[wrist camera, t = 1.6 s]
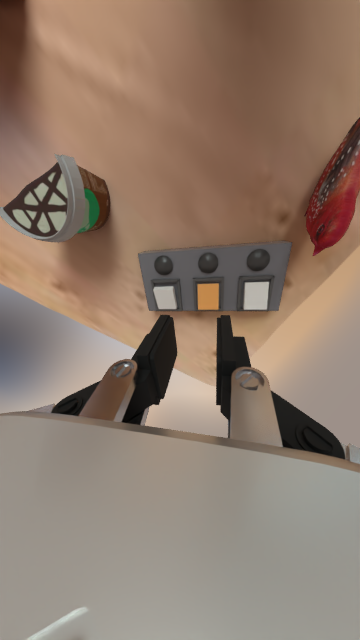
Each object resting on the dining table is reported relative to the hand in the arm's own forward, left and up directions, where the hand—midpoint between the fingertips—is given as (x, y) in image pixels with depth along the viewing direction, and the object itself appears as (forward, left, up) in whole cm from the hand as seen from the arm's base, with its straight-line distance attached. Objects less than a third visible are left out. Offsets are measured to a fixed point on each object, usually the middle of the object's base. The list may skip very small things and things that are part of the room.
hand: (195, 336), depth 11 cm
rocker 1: (+4, -7, -17) cm, 19 cm away
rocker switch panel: (+2, 0, -21) cm, 21 cm away
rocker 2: (+4, +7, -17) cm, 19 cm away
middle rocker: (+4, 0, -17) cm, 18 cm away
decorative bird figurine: (-11, +14, -21) cm, 28 cm away
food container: (-9, -19, -21) cm, 30 cm away
